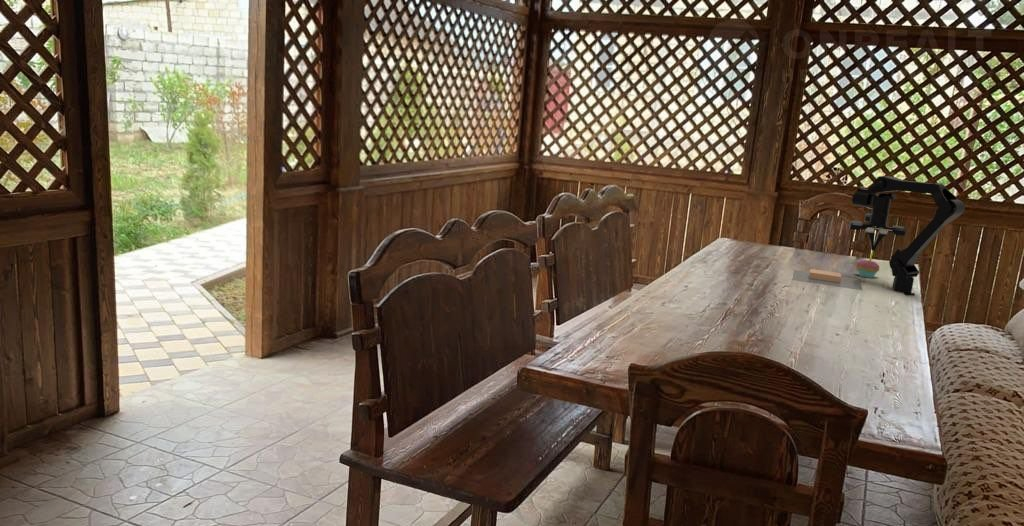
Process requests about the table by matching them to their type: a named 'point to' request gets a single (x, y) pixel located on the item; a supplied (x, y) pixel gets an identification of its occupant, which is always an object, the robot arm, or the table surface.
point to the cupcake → (867, 267)
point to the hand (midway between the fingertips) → (872, 250)
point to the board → (844, 282)
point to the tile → (825, 276)
